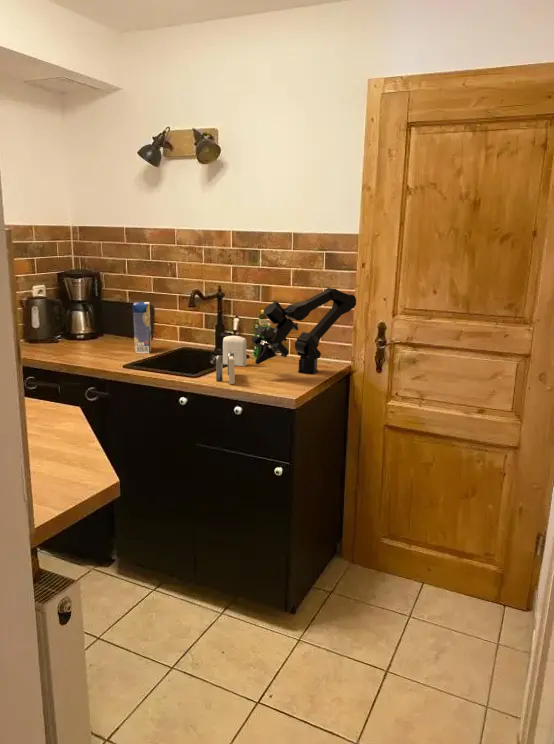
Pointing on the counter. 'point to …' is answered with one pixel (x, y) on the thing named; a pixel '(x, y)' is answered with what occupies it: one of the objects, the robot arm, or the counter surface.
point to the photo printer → (235, 349)
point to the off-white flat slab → (231, 370)
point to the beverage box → (142, 327)
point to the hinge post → (228, 359)
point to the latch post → (219, 368)
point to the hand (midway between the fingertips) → (256, 363)
